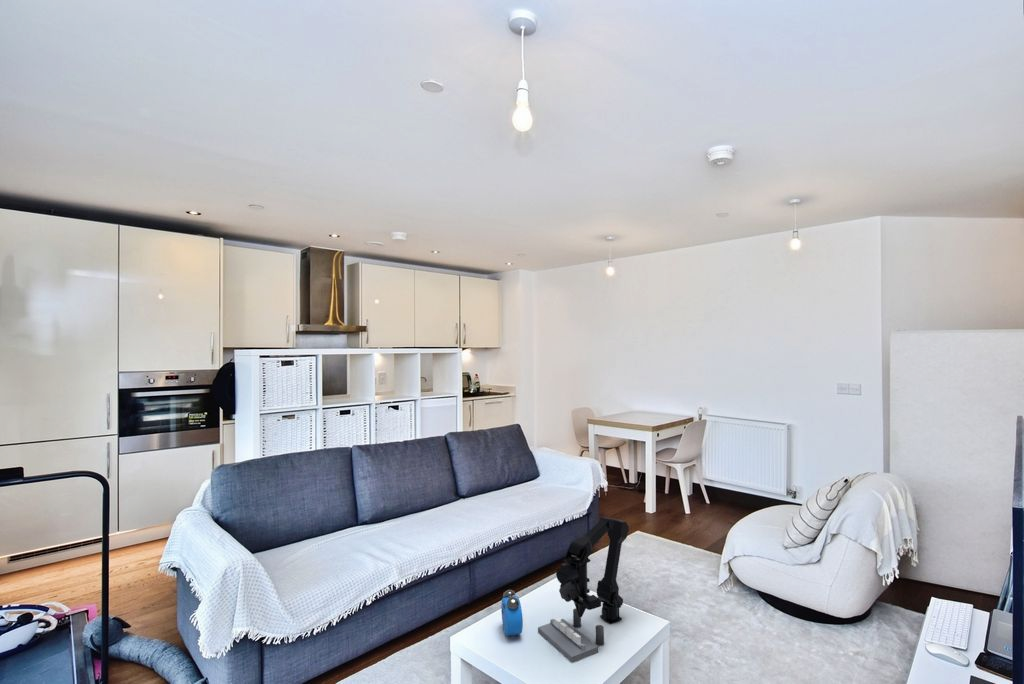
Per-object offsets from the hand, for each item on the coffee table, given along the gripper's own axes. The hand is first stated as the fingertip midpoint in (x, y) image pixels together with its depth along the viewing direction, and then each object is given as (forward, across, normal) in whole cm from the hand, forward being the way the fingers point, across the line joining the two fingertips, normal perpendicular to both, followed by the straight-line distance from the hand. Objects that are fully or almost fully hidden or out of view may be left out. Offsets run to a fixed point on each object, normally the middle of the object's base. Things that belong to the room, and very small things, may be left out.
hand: (580, 616), depth 187 cm
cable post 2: (+8, +7, +4) cm, 11 cm away
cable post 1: (+8, -7, +4) cm, 11 cm away
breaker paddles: (+5, 0, -6) cm, 8 cm away
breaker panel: (+8, 0, -6) cm, 10 cm away
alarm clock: (+8, -16, -21) cm, 28 cm away
